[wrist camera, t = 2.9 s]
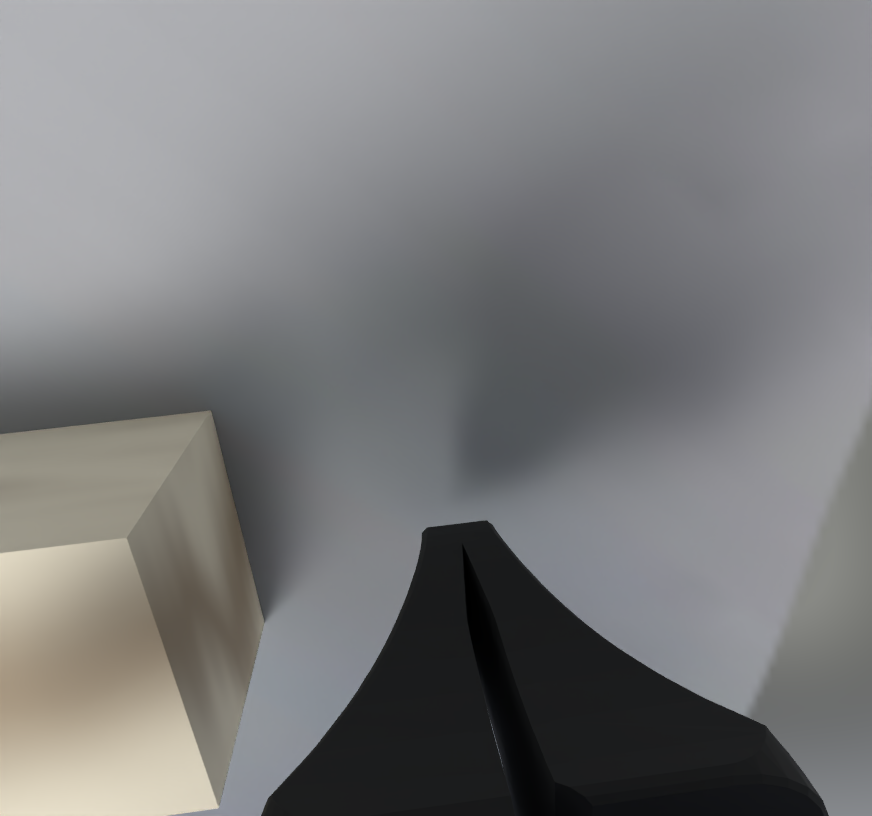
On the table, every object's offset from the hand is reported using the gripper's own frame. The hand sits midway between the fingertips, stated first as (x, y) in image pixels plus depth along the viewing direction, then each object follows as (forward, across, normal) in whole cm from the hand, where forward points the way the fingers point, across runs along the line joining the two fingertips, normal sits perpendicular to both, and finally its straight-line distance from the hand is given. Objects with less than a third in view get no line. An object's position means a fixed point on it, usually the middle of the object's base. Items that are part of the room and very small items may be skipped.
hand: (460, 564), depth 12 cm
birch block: (+3, +8, 0) cm, 8 cm away
